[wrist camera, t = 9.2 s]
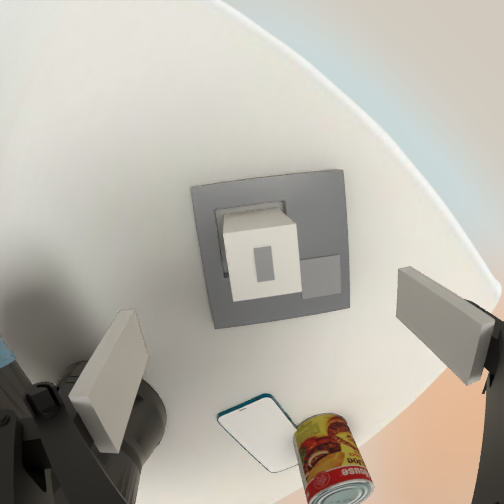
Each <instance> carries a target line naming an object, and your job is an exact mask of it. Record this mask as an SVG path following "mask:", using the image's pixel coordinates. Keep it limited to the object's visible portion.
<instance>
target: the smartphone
mask: <svg viewBox="0 0 504 504" xmlns="http://www.w3.org/2000/svg"><path fill="white" fill-rule="evenodd" d="M217 421H218V423H219V424H220V425H221V426H222V427H223V428H224V429H225V430H226V431H227V432H228V433H229V434H230V435H231V436H232V437H233V438H234V439H235V440H236V441H237V442H238V443H239V444H240V445H241V446H242V447H243V448H244V449H245V450H247V451H248V452H249V453H250V454H251V455H252V456H253V457H254V458H255V459H256V460H257V461H258V462H259V463H261V464H262V465H263V466H264V467H265V468H266V469H267V470H268V471H270V472H271V473H277V472H280V471H283V470H285V469H288V468H291V467H293V466H296V465H298V461H297V457H296V453H295V449H294V444H293V436H294V433H295V432H296V431H297V426H296V425H295V424H294V423H293V421H292V420H291V418H290V417H289V416H288V414H287V413H286V412H285V411H284V410H283V409H282V407H281V406H280V405H279V403H278V402H277V401H276V400H275V398H274V397H273V396H272V395H271V394H262V395H259V396H257V397H255V398H253V399H251V400H248V401H246V402H244V403H242V404H239V405H237V406H235V407H232V408H230V409H228V410H225V411H223V412H221V413H219V414H218V416H217Z"/></svg>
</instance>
